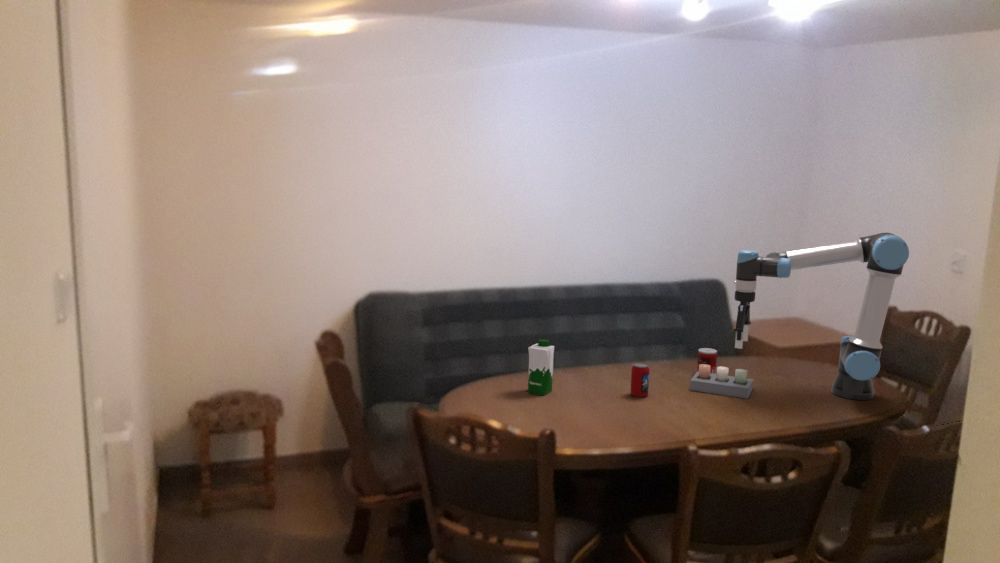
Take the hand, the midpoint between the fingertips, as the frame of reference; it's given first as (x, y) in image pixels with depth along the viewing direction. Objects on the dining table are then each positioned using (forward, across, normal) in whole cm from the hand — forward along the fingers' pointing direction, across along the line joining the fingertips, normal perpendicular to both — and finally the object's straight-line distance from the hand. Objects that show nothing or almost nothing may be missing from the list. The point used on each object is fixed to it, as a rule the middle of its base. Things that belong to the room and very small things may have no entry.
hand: (741, 344), depth 301 cm
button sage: (+15, +1, +1) cm, 15 cm away
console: (+19, +1, -6) cm, 20 cm away
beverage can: (+19, +24, -33) cm, 45 cm away
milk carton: (+19, +40, -68) cm, 81 cm away
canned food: (+19, -16, -15) cm, 29 cm away
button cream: (+15, +1, -6) cm, 16 cm away
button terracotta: (+15, +1, -13) cm, 20 cm away
